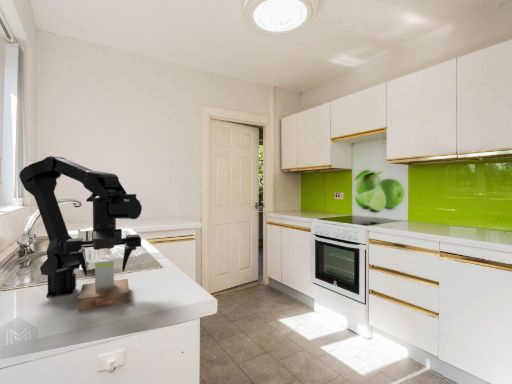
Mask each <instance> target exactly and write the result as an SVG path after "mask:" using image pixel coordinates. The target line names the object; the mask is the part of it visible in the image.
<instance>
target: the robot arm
mask: <svg viewBox="0 0 512 384" xmlns="http://www.w3.org/2000/svg"><path fill="white" fill-rule="evenodd" d="M62 175H64V176H66V177H69V178H71V179H73V180H74V181H77V182H79V183H81V184H82V185H83V187H84V188H85V189H86V191H89V192H90V193H91V195H90V196H89V197H87V198H86V199H85V200H86V202H87V203H88V202H89V203H91V202H92V228H93V233H92V240H90V241H84V240H83V238H78V237H77V238H73V237H71V236H70V233H69V232H68V228H67V226H66V223H65V220H64V216H63V214H62V211H61V209H60V204H59V203H58V200H57V197H56V194H55V190H56V187H57V185H58V182H57V180H58V179H59V178H61V177H62ZM18 176H19V180H20V182H21V183H22V186H23V188H24V189H25V190H26V191H27V192H28V193H29V194H30V195H31V196H33V197H34V200H35V202H36V206H37V208H38V211H39V214H40V217H41V220H42V223H43V226H44V229H45V231H46V234H47V238H48V240H49V243H48V246H47V249H46V257H47V259H46V260H45V261H44V262H43V263H42V265H41V266H40V267H39V269H40V273H41V275H42V276H47V293H46V297H55V296H64V295H70V294H73V293H74V291H75V290H76V289H77V287H78V286H77V285H78V284H77V273H75V270H77V269H79V267H80V264H81V267H82V269H83V270H82V271H83V274H84V275H85V277H87V276H88V270H87V261H86V253H85V248H87V247H93V249H95V250H97V251H100V250H102V249H107V250H111V249H114V247H115V246H121V245H123V246H124V250H123V256H122V257H123V258H122V264H121V267H122V268H121V270H122V272H125V269H126V266H127V263H128V260H129V257H130V256H131V254H132V252H133V251H136V250H137V248H138V247H142V237H141V235H139V234H136V233H135V234H125V237H122V236H123V235H122V234H123V233H122V232H123V231H122V228H117V219H120V220H137V219H138V218H139V217H140V216H141V213H142V211H143V210H142V205H141V201H140V200H139V199H138V198H137V194H136V193H130V194H129V193H127V192H126V190H125V188H124V187H123V185H122V183H121V182H120V179H119V177H118V175H117V174H115V173H111V172H105V171H97V170H93V169H90V168H88V167H85V166H83V165H81V164H79V163H76V162H74V161H72V160H68V159H67V158H65V157H62V156H56V155H55V156H54V155H49V156H47V157H45V158H44V159H41V160H38V161H37V162H33V163H30V164H28V165H27V166H24V168H22V169H21V170H20V172H19V175H18Z"/></svg>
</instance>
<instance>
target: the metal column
mask: <svg viewBox="0 0 512 384" xmlns="http://www.w3.org/2000/svg"><path fill="white" fill-rule="evenodd" d="M94 279H95V280H94V281H95V282H94V283H95V292H97V291H105V290H112V289H114V280H115V256H112V257H101V258H99V257H98V258H96V261H95V269H94Z"/></svg>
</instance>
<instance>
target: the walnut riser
mask: <svg viewBox="0 0 512 384" xmlns="http://www.w3.org/2000/svg"><path fill="white" fill-rule="evenodd" d="M129 289H130V288H129V279H128V278H125V279H124V278H122V279H114V289H112V290H105V291H97V292H95V282H92V283H83V284H82V285H81V287H80V291H79V294H78V297H77V311H82V310H83V311H84V310H90V309H96V308H103V307H104V308H105V307H108V306H116V305H121V304H122V305H123V304H127V303H128V304H129V303H130V290H129Z"/></svg>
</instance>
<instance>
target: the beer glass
mask: <svg viewBox="0 0 512 384" xmlns="http://www.w3.org/2000/svg"><path fill="white" fill-rule="evenodd" d="M92 233H93V227H87V228H80V229H77V238H83V240H84V241H90V240H92ZM85 253H86V261H87V271H92V270H95V261H96V259H97V254H98V250H95V249H93V247H87V248H85ZM78 269H79V271H83V269H82V267H81V264H80V267H79V268H78Z"/></svg>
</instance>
